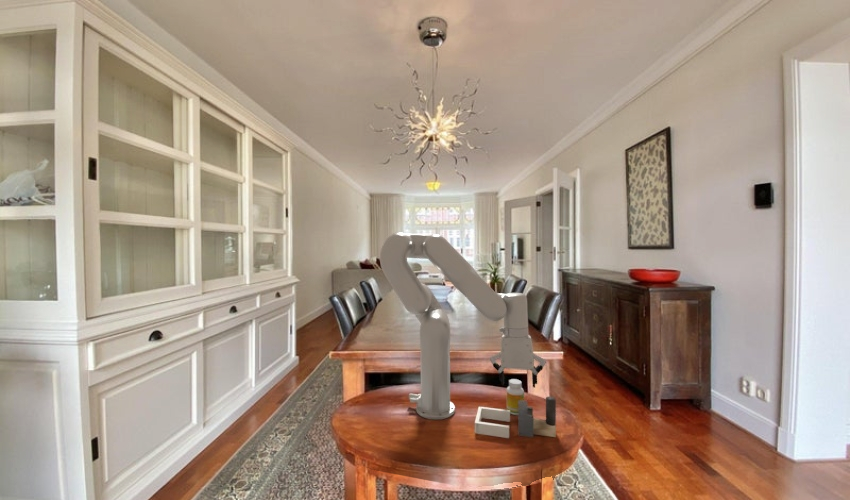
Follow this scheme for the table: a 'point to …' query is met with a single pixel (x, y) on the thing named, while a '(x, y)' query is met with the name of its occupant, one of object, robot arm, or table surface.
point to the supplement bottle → (514, 395)
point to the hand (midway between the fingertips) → (518, 384)
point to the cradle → (490, 427)
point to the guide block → (525, 419)
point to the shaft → (547, 420)
